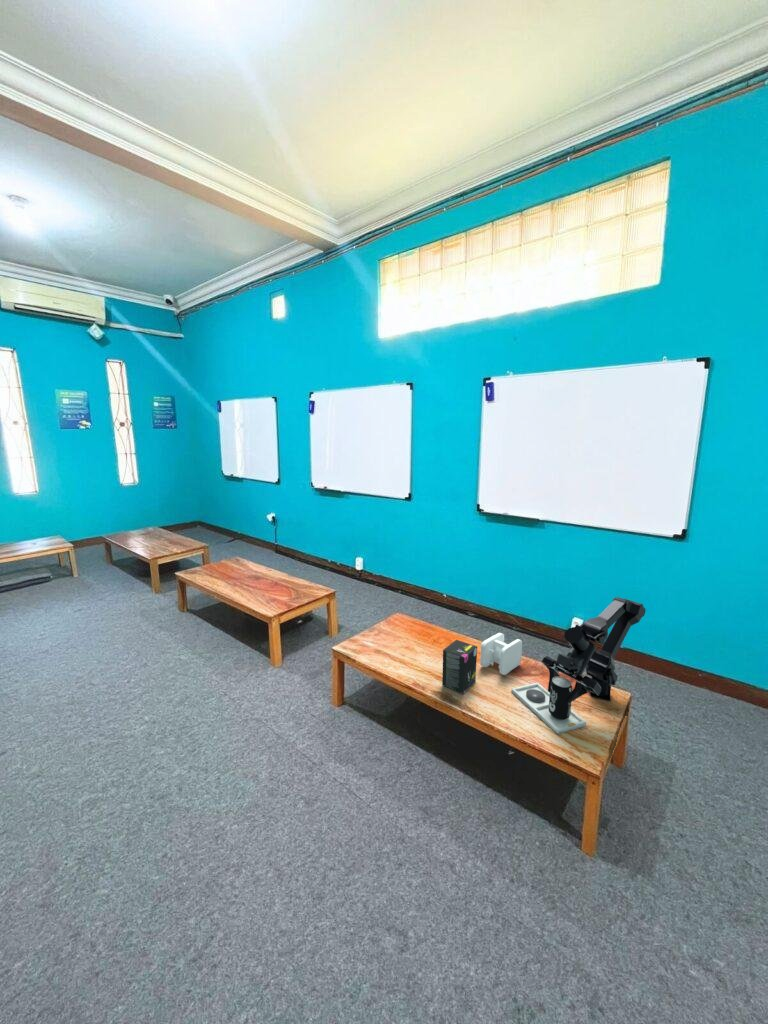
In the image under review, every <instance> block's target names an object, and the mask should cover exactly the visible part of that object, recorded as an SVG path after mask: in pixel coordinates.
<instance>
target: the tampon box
mask: <svg viewBox="0 0 768 1024" xmlns="http://www.w3.org/2000/svg"><path fill="white" fill-rule="evenodd" d="M477 657H478V646H476V645H474V644H471V643H467V642H466V641H465V642H464V641H461V640H459V639H455V640H454V641H453V642H451V643H450V644H449V645H447V646H446V647H445V648H444V649H443V650H442V676H441V677H442V683H441V685H442V687H446V688H447V689H450V690H453V691H455V692H457V693H460V694H462V695H464V694H465V693H466V692H468V690H469V689H470V688H471V687H472V686H473V685H474V684H475V683H476V681H477V679H476V678H477V677H476V676H477Z"/></svg>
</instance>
